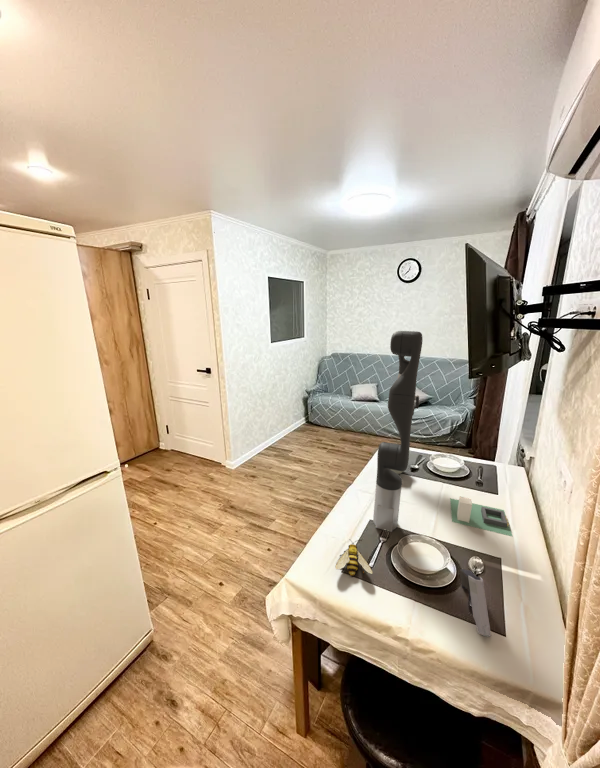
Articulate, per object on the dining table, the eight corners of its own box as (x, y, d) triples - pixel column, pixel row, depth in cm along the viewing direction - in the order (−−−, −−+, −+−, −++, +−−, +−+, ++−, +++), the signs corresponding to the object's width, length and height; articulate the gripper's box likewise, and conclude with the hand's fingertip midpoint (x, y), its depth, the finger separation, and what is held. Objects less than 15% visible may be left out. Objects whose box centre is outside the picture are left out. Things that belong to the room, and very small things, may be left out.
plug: (469, 522, 120) (472, 504, 118) (457, 519, 122) (460, 502, 120) (467, 514, 125) (470, 497, 123) (456, 512, 126) (459, 495, 124)
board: (512, 539, 114) (513, 531, 113) (451, 524, 121) (452, 517, 120) (503, 512, 128) (504, 505, 127) (449, 500, 135) (450, 494, 135)
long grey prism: (464, 630, 89) (479, 635, 79) (457, 568, 97) (470, 566, 87) (478, 632, 89) (495, 637, 79) (470, 570, 97) (484, 568, 87)
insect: (370, 549, 109) (371, 537, 108) (371, 585, 95) (373, 572, 94) (337, 544, 111) (338, 532, 110) (334, 579, 97) (335, 566, 96)
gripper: (389, 383, 149) (386, 415, 154) (420, 386, 144) (417, 419, 148) (391, 379, 156) (388, 410, 160) (421, 382, 151) (417, 414, 155)
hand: (402, 414), depth 154 cm, fingers open, 8 cm apart
